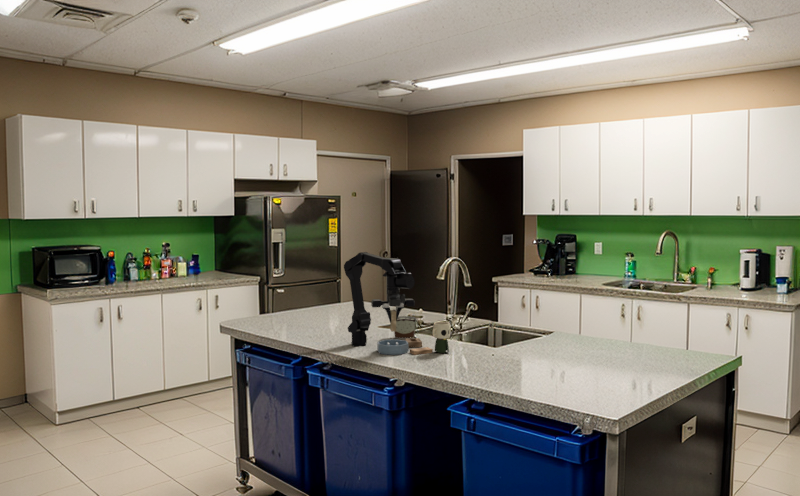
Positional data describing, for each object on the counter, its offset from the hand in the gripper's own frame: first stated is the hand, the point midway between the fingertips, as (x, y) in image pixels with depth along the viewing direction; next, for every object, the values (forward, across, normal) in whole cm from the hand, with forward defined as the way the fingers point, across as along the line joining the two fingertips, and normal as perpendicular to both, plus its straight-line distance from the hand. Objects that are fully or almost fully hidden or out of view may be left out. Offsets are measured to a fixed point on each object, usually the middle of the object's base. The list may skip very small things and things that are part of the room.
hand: (393, 322), depth 268 cm
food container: (+13, +10, +31) cm, 35 cm away
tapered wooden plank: (+14, +12, -4) cm, 18 cm away
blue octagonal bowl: (+13, 0, 0) cm, 13 cm away
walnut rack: (+13, +11, +11) cm, 20 cm away
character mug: (+13, +21, -6) cm, 25 cm away
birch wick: (+4, 0, 0) cm, 4 cm away
